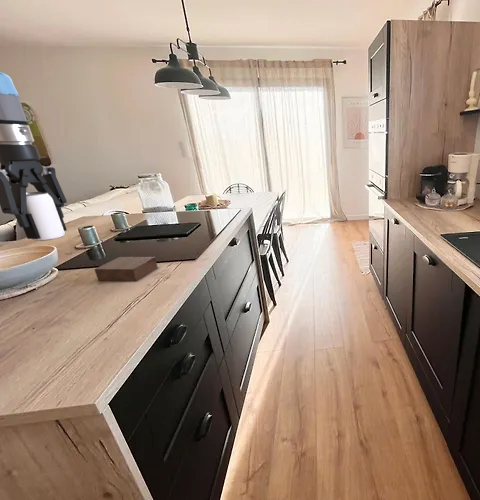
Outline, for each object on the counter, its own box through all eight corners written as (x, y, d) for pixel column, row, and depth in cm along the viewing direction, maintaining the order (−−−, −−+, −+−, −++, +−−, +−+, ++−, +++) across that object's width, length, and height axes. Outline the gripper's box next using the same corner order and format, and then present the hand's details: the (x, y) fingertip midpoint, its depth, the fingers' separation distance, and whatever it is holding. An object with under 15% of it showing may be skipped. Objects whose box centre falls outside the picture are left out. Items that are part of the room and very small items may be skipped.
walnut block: (98, 280, 88) (94, 269, 87) (123, 267, 97) (119, 256, 96) (136, 281, 88) (133, 269, 86) (157, 267, 97) (154, 256, 96)
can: (36, 242, 74) (17, 196, 70) (29, 238, 77) (10, 193, 73) (69, 236, 79) (53, 192, 75) (61, 232, 82) (45, 190, 78)
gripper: (-21, 144, 60) (22, 246, 68) (66, 143, 79) (92, 224, 87) (-56, 143, 61) (-9, 246, 69) (39, 143, 79) (68, 224, 87)
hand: (48, 234), depth 78 cm, fingers closed on can, 6 cm apart
